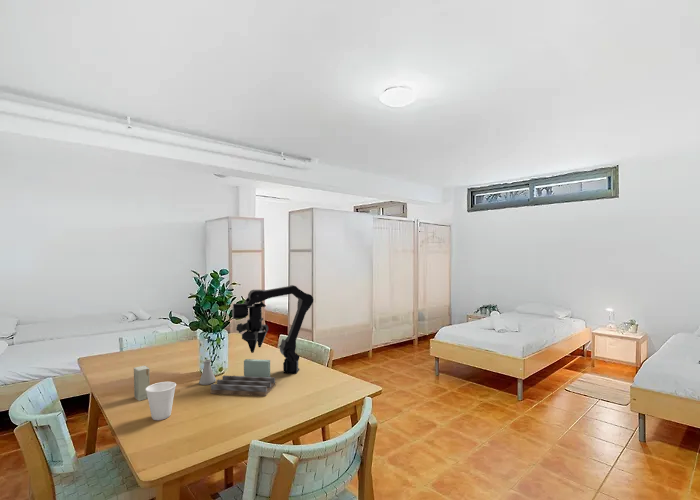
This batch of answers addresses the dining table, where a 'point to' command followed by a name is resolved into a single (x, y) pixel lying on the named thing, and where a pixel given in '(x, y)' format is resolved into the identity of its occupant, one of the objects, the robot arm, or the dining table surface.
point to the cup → (161, 399)
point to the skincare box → (141, 382)
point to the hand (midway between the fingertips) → (256, 349)
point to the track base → (243, 385)
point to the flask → (207, 374)
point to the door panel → (256, 368)
